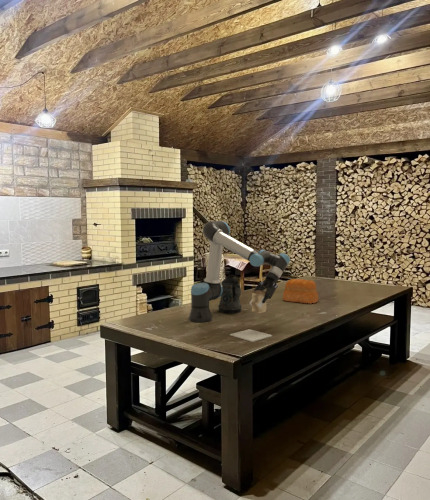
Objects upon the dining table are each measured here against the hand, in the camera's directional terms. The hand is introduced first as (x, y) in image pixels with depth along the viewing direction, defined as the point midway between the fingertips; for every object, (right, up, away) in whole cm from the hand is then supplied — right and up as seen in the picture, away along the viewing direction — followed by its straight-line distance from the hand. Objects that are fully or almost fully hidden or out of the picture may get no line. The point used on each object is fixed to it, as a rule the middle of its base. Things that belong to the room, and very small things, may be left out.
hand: (254, 305), depth 257 cm
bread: (+44, -8, +87) cm, 97 cm away
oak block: (+3, -4, +3) cm, 5 cm away
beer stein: (-11, -11, +55) cm, 57 cm away
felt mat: (-3, -16, -8) cm, 18 cm away
